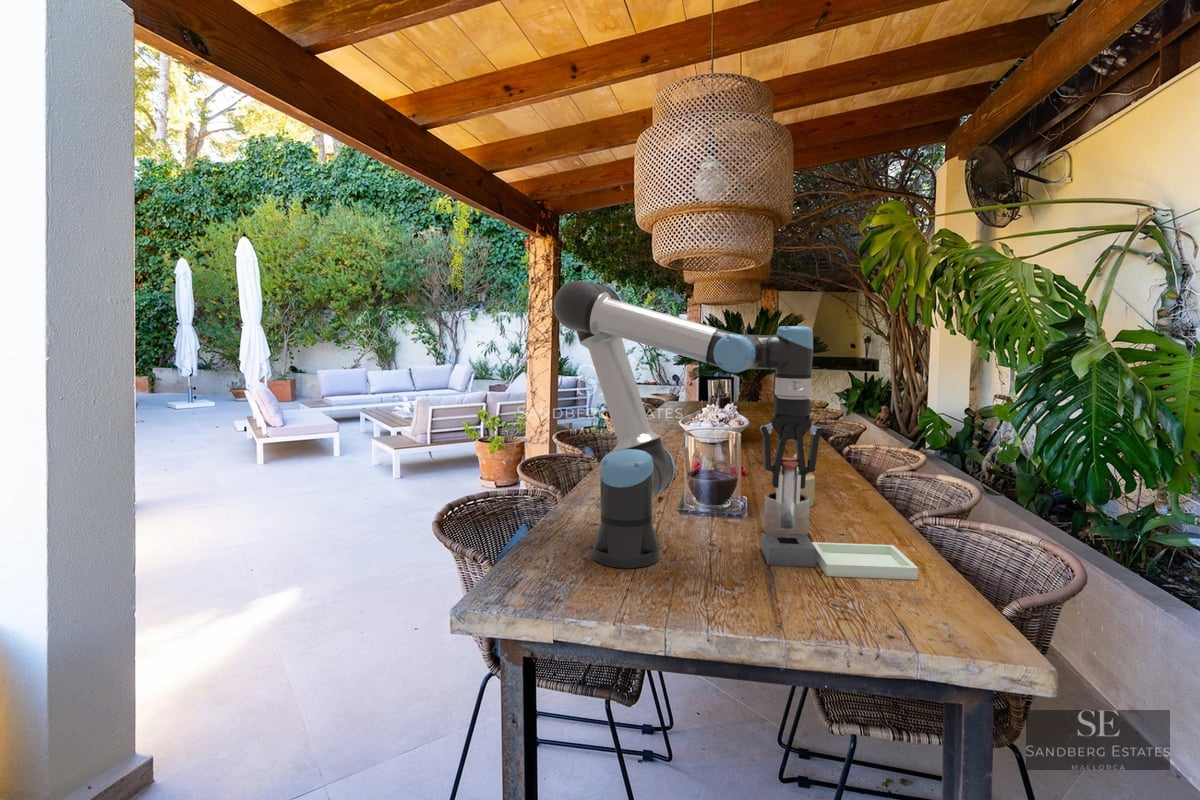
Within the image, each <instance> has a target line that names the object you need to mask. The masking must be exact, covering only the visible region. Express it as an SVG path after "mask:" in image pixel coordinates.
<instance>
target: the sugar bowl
mask: <svg viewBox="0 0 1200 800" xmlns="http://www.w3.org/2000/svg"><path fill="white" fill-rule="evenodd" d="M792 458H796V459H797V454H796V453H795V454H794V455H793V457H792ZM780 469H782V466H781V467H780ZM780 472H782V470H781V471H780ZM797 473H799V470H798V467H797ZM815 487H816V477H815V475H813V474H812V473H811V472H810V473H807V475H806V480H805V488H804V489H800V494H803V495H806V496H808V497H809V508H810V507H813V506H814V504H815V489H816V488H815ZM776 489H777V488H775V490H776Z"/></svg>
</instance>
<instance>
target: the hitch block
mask: <svg viewBox="0 0 1200 800" xmlns="http://www.w3.org/2000/svg"><path fill="white" fill-rule="evenodd" d="M812 542H813V541H811V539H810V538H809V537H808V535H806V534H781V533H766V532H761V543H760V544H761V547H760V548H761V552H762V555H763V557H764V559H765V562H766V564H767V566H779V567H801V568H802V567H807V568H816V566H817V561H816V548H815V546H814V545H813V544H812Z"/></svg>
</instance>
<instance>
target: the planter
mask: <svg viewBox="0 0 1200 800" xmlns="http://www.w3.org/2000/svg"><path fill="white" fill-rule="evenodd" d="M779 517H780V503H778V502H777V501H776V491H771V492H766V493H765V494H764V515H763V531H764V533H781V534H806V535H807V536H808V535H809V532H810V507H809V497H808V496H806V495H803V494H800V504H796V503H795V518H794V528H792V529H785V528H781V527H779Z"/></svg>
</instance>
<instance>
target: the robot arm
mask: <svg viewBox="0 0 1200 800" xmlns="http://www.w3.org/2000/svg"><path fill="white" fill-rule="evenodd" d="M553 311H554V315H555V317H556V319H557V321H558V322H559V323H560V324H561V325H562V326H563V327H565V328H566V329H569V330H572V331H576V334H577V337H578V340H579V344H580V345H581V346H582V347H584V348H587V349H588V352H589V355H590V358H591V361H592V364H593V368H594V370H595V373H596V377H597V379H598V383H599V386H600V389H601V392H602V395H603V398H604V401H605V404H606V408H607V410H608V411H607V412H608V414H609V417H610V420H611V423H612V426H613V429H614V430H613V431H614V433H615V436H616V439H617V444H616V446H615V448H614V451H611V452H609V453H607V454H605V455H604V456H603V457H602V459H601V462H600V469H599V478H600V480H599V485H600V486H599V488H600V490H599V491H600V508H599V509H600V523H599V525H598V526H599V527H598V529H597V533H596V536H595V539H594V541H593V545H592V558H593V559H594V561H596V562H597V563H599V564H601V565H603V566H606V567H607V566H608V567H611V568H612V567H613V568H618V569H636V568H643V567H648V566H651V565H653V564H655V563H657V562H659V560H660V559H661V555H660V554H661V549H660V544H659V541H658V538H657V537H658V536H657V535H656V531H655V527H654V524H653V499H654V498H655V497H657V496H658V495H660V494H662V493H663V492H665V491H666V490H667V488H669V486H670V484H671V483H672V481H673V480H674V477H675V474H676V465H675V464H676V463H675V461H674V457H673V456H672V454H671V453H670V452H669V450H668V449H665V447H664V445H663V441H662V439H661V436H660V434H657V433H656V432H654V431H653V430H652V429H651V424H650V422H649V419H648V416H647V413H646V410H645V409H646V408H645V406H644V403H643V400H642V397H641V394H640V390H639V388H638V385H637V381H636V378H635V376H634V373H633V372H634V371H633V370H632V367H631V363H630V359H629V357H628V354H627V350H626V347H625V344H624V341H623V339H625V340H628V341H631V342H635V343H638V344H642V345H645V346H648V347H651V348H655V349H659V350H662V351H666V352H667V353H668V352H669V353H673V354H675V355H679V356H682V357H686V358H688V359H689V358H690V359H693V360H696V361H699V362H702V363H706V364H708V365H711V366H714V367H719V368H720V369H721V370H723V371H726V372H729V373H733V374H737V373H742V372H743V371H746V370H752V369H753V370H775V382H774V395H775V396H776V397H775V398H774V399H773V403H774V404H773V417H772V419H771V421H770V423H767V424H765V425H764V424H762V425H760V426H759V430H760V432H761V435H762V444H763V445H762V447H763V450H762V451H763V466H764V468H765V470H766V471H768V472H771V474H772V475H771V477H772V478H771V485H772V487H773V488H775V492H776V501H777V502H778V503H780V504H782V484H783V474H782V473H781V471H780V470H781V467H782V466H781V463H782V458H784V452H785V447H786V444H787V441H788V440H794V445H795V452H796V453H795V454H797V459H798V460H799V463H800V466H799V467H798V470H799V473H797V475H796V496H795V503H796V504H800V489H804V488H805V480H806V475H807V473H810V474H811V473H814V472H815V471H816V465H817V458H818V452H819V451H818V450H819V442H820V438H821V436H822V435H823V432H824V430H823V428H822V427H820V426H816V425H814V424H813V423H812V421H811V417H810V416H811V413H810V412H811V399H810V398H808V397H810V396H811V395H812V393H811V391H812V374H813V370H812V369H813V359H814V331H813V329H812V328H811V327H809V326H805V325H804V326H801V325H800V326H798V325H794V326H793V325H791V326H790V325H789V326H788V325H787V326H785V325H783V326H782V325H780V326H778V327H777V331H776V334H773V335H772V334H770V335H767V334H766V335H765V334H761V335H759V334H740V333H739V334H738V333H735V332H731V331H728V330H725V329H720V328H717V327H714V326H710V325H707V324H704V323H701V322H700V323H699V322H695V321H692V320H690V319H689V320H688V319H686V318H682V317H678V316H674V315H671V314H667V313H664V312H660V311H658V310H657V311H656V310H652V309H649V308H646V307H644V306H643V307H642V306H639V305H635V304H633V303H628V302H624V301H623V299H622V297H621V296H620V294H619V293H618V292H617V291H616V290H615V289H613V288H611V287H610V286H608V285H606V284H603V283H594V282H590V281H585V280H573V281H569V282H567V283H565V284H564V285H562V286H561V287H560V288H559V290H557V293H556V294H555V297H554V299H553ZM772 429H774V431H775V433H776V434H777V435H778V437H777V445H776V449H775V453H774V459H773V463H772V455H771V454H772V449H771V436H770V435H771V434H772ZM808 431H809V434H810V435H811V436H810V441H809V450H808V454H807V455H808V456H807V464H806V458H805V457H806V456H805V449H804V436H805V435H806V434H807V432H808ZM776 488H777V489H776Z"/></svg>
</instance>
